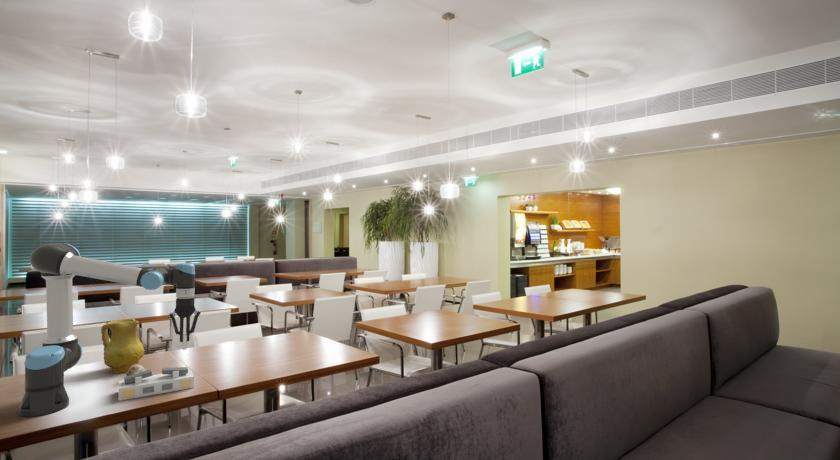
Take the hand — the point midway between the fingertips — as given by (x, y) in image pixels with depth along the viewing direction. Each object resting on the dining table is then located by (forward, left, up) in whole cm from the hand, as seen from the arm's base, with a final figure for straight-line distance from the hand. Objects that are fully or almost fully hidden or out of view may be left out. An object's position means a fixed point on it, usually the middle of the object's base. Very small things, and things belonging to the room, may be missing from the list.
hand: (184, 348), depth 200 cm
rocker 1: (-18, 0, -9) cm, 20 cm away
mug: (-16, +19, -17) cm, 30 cm away
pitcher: (-23, +42, -17) cm, 50 cm away
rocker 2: (-4, 0, -9) cm, 10 cm away
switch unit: (-11, 0, -17) cm, 20 cm away
